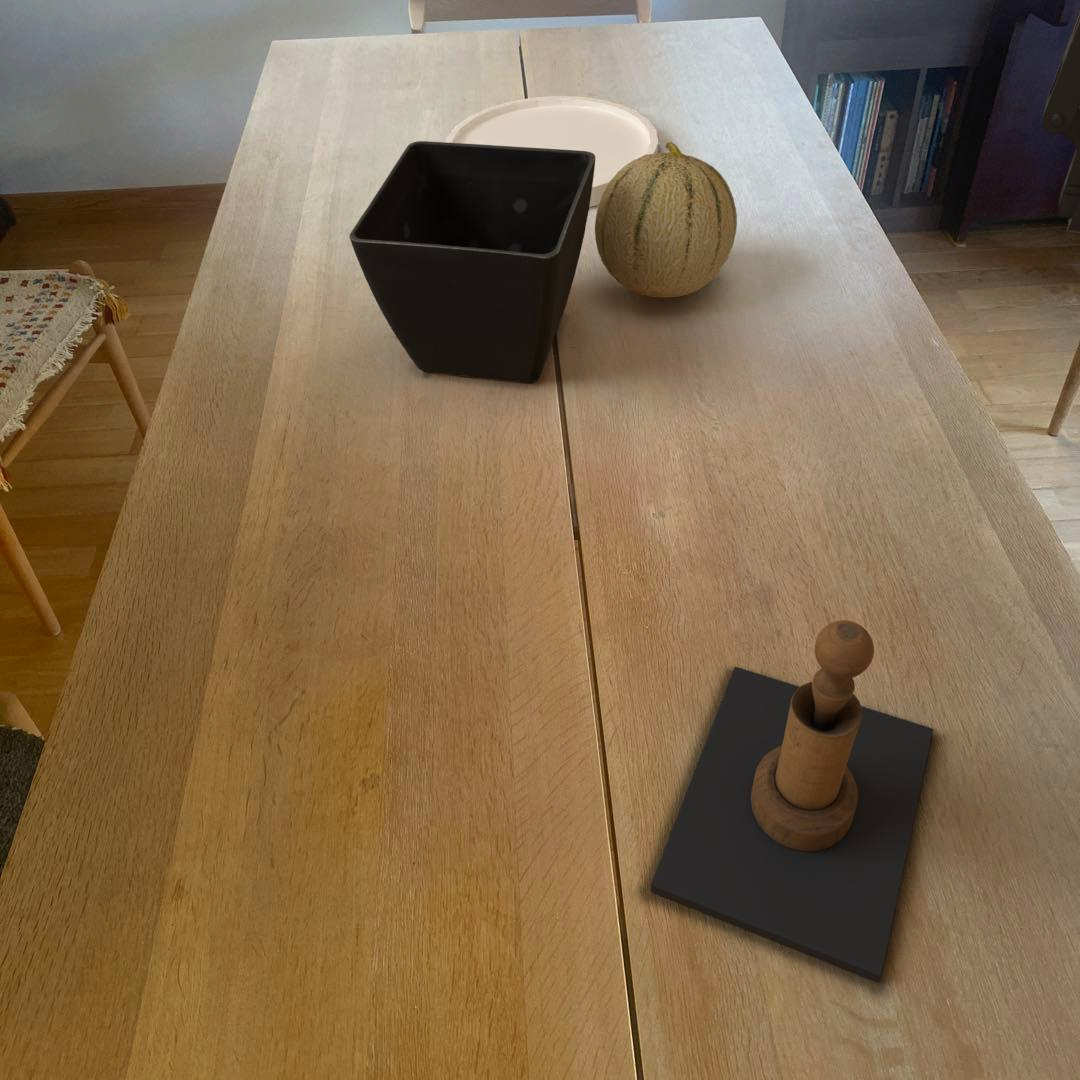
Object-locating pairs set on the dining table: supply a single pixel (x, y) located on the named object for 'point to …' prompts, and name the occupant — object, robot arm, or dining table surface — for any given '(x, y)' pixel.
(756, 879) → the mat
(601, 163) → the plate
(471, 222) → the flower pot
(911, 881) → the dining table surface
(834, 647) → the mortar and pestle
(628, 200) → the cantaloupe
